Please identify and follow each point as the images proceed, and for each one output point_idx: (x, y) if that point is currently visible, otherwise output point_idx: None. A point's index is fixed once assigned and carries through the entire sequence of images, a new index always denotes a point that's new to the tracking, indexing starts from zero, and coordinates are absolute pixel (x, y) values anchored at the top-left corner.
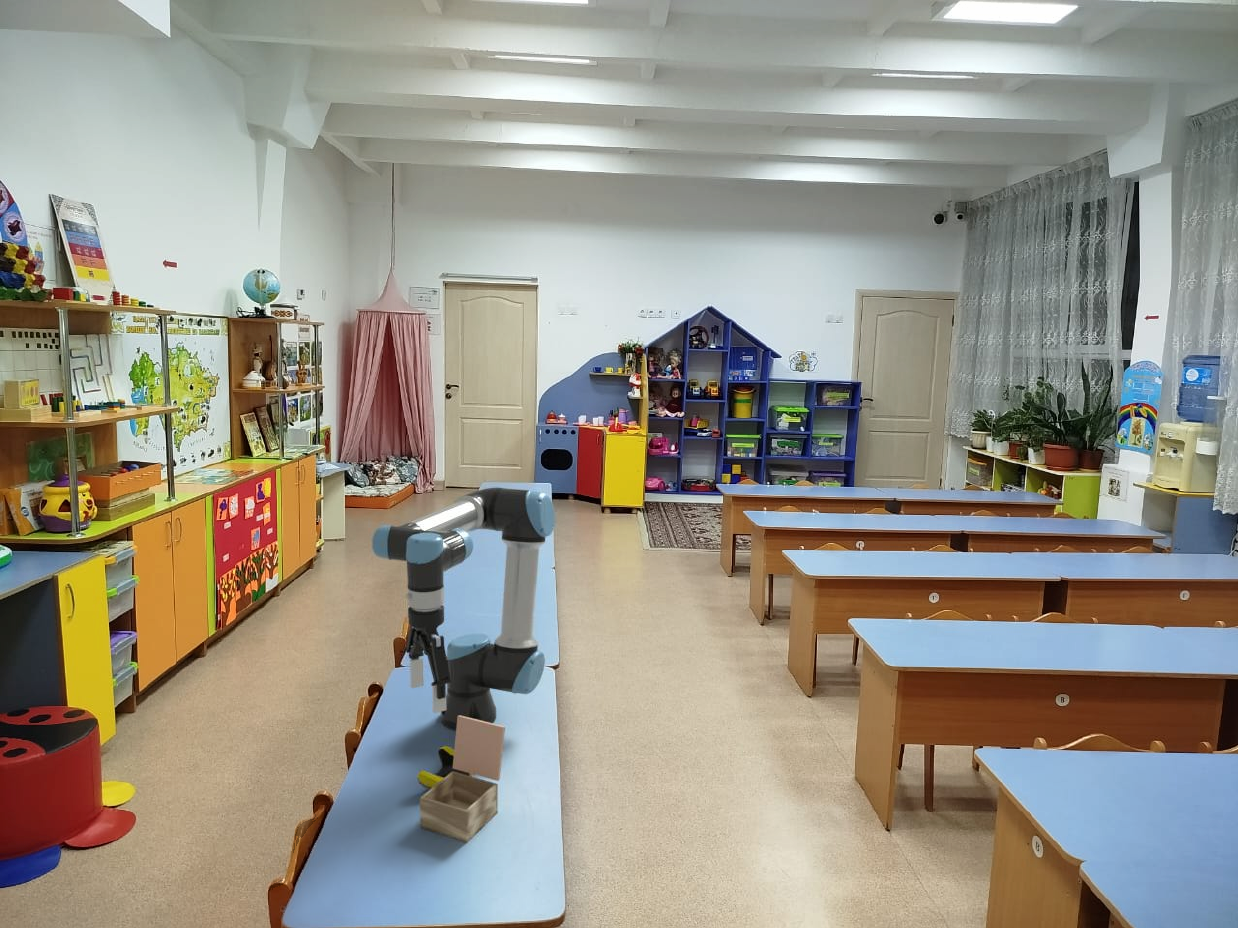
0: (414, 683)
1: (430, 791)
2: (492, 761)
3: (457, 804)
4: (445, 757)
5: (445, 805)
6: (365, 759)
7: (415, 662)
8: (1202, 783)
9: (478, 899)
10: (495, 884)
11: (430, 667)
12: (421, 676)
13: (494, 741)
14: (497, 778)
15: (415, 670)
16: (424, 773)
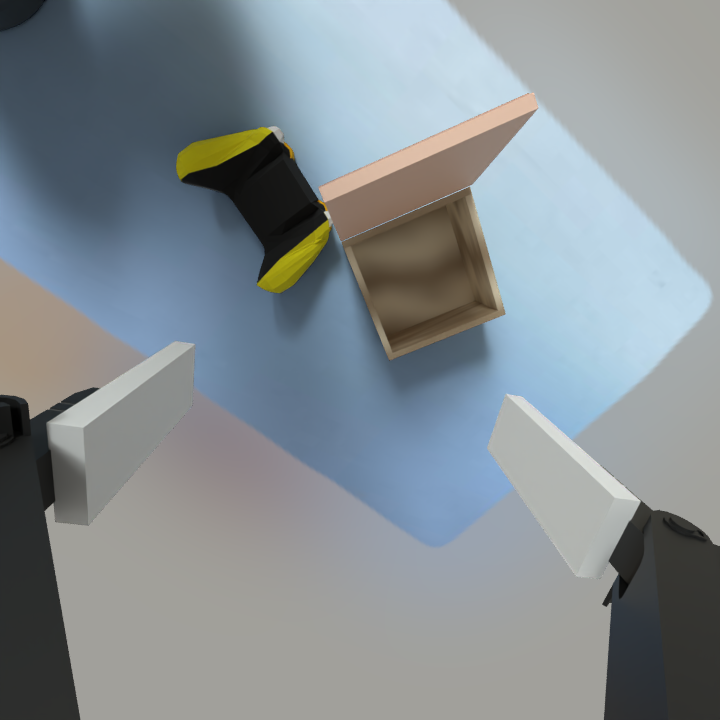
0: (182, 403)
1: (383, 331)
2: (464, 177)
3: (372, 250)
4: (214, 179)
5: (451, 335)
6: (74, 303)
7: (101, 476)
8: None
9: (601, 369)
10: (599, 330)
11: (609, 695)
12: (169, 376)
13: (483, 151)
14: (472, 183)
15: (141, 438)
16: (276, 280)
